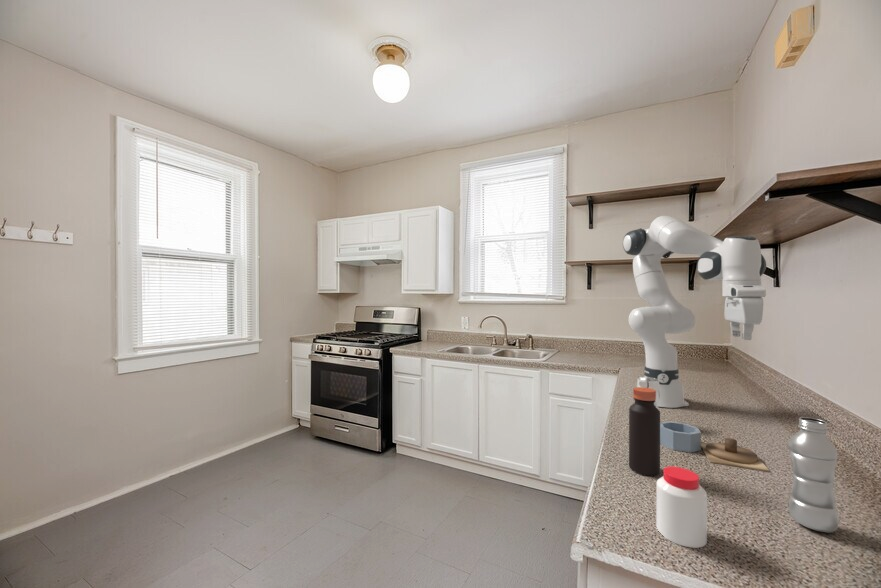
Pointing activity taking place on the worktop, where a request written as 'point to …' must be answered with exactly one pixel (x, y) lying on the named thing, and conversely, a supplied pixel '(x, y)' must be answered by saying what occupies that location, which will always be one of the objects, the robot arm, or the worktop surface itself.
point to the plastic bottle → (813, 476)
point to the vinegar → (644, 433)
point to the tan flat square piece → (755, 466)
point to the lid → (731, 452)
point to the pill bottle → (681, 507)
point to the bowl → (680, 436)
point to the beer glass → (650, 386)
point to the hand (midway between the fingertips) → (741, 338)
